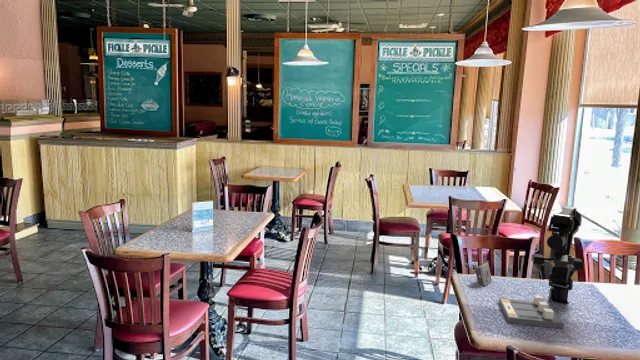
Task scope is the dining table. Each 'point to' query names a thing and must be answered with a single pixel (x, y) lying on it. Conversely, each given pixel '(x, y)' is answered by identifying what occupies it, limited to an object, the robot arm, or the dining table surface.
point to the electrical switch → (483, 274)
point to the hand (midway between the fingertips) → (554, 281)
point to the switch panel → (527, 313)
